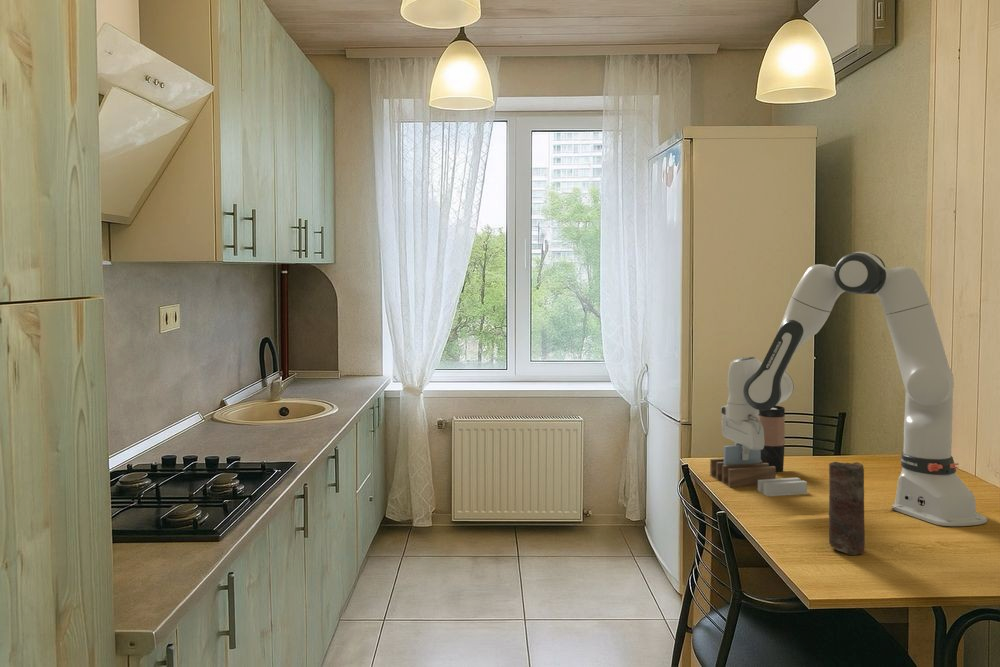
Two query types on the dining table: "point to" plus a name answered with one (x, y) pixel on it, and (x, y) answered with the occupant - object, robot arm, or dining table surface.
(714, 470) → the dish rack
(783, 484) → the plate stand
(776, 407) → the travel mug
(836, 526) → the dark brown tall block
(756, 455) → the side plate
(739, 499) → the dining table surface
